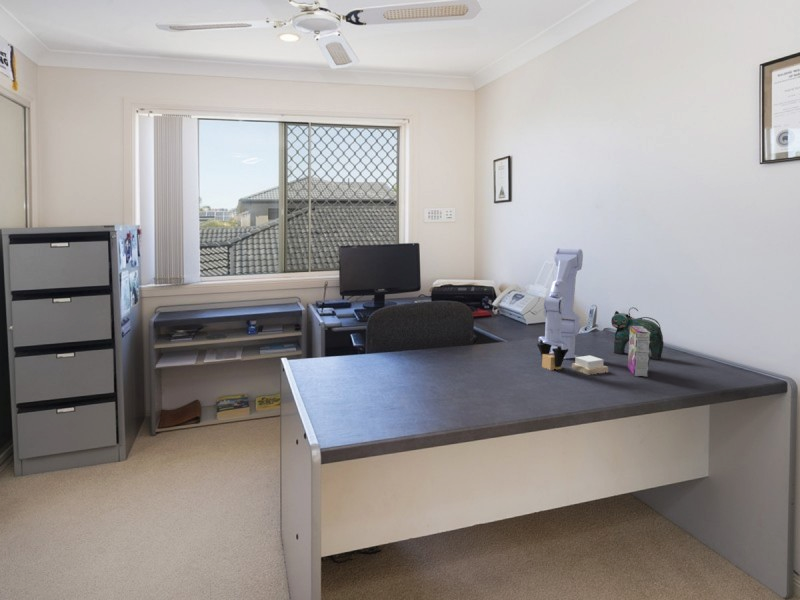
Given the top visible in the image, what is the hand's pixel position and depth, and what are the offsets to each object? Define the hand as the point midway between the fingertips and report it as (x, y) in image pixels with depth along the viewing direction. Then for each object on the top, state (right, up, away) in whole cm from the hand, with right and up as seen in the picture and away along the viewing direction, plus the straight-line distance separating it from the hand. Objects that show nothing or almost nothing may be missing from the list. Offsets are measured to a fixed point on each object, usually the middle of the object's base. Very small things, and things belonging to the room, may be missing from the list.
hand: (551, 364), depth 197 cm
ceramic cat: (+40, +1, +18) cm, 44 cm away
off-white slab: (+13, 0, -3) cm, 13 cm away
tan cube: (0, -2, 0) cm, 2 cm away
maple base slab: (+13, -2, -3) cm, 14 cm away
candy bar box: (+29, -3, -6) cm, 30 cm away
